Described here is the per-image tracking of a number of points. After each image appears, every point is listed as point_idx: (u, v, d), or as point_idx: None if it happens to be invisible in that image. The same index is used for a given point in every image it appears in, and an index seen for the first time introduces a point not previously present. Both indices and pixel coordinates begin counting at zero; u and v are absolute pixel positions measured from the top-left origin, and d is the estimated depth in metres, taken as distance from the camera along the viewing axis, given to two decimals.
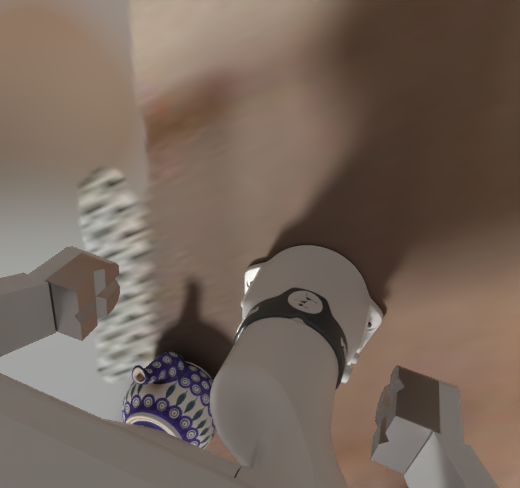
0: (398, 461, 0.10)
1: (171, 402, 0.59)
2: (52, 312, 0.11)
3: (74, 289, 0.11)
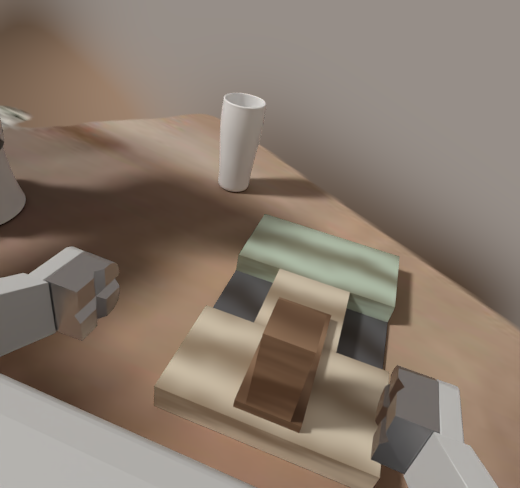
0: (398, 461, 0.10)
1: None
2: (52, 312, 0.11)
3: (74, 289, 0.11)
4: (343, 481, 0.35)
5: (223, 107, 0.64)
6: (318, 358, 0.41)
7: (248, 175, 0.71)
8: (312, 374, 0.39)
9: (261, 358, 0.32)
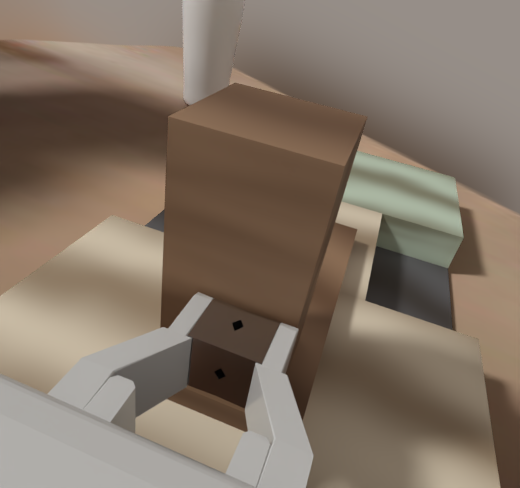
0: (237, 396, 0.10)
1: None
2: (188, 367, 0.10)
3: (219, 345, 0.10)
4: None
5: None
6: (336, 293, 0.20)
7: (224, 85, 0.50)
8: (324, 321, 0.18)
9: (176, 222, 0.11)
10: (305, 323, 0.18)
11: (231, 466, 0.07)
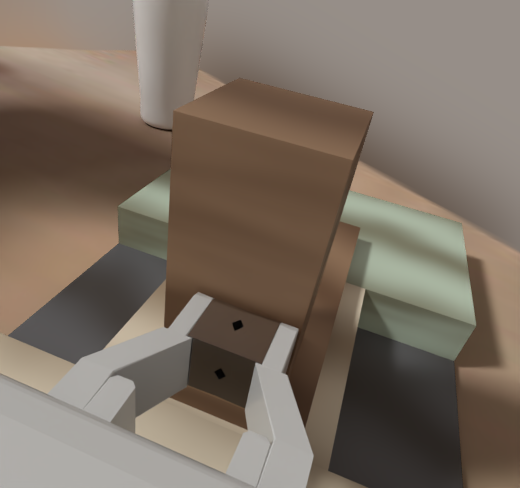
0: (237, 396, 0.10)
1: None
2: (188, 367, 0.10)
3: (219, 345, 0.10)
4: None
5: None
6: (339, 291, 0.19)
7: (187, 100, 0.42)
8: (328, 319, 0.18)
9: (180, 219, 0.11)
10: (309, 321, 0.17)
11: (231, 466, 0.07)
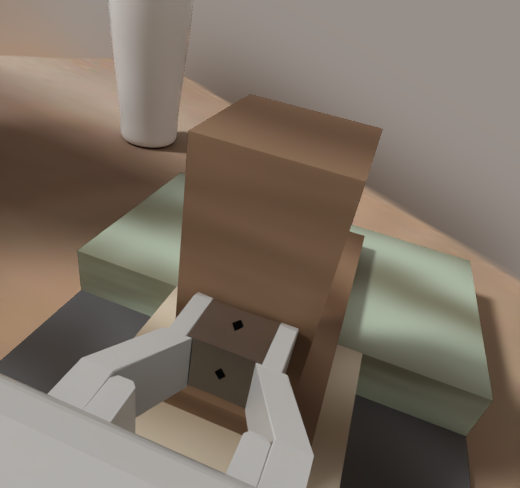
0: (237, 396, 0.10)
1: None
2: (188, 367, 0.10)
3: (219, 345, 0.10)
4: None
5: None
6: (345, 300, 0.20)
7: (171, 116, 0.39)
8: (334, 329, 0.18)
9: (193, 234, 0.11)
10: (315, 331, 0.18)
11: (231, 466, 0.07)
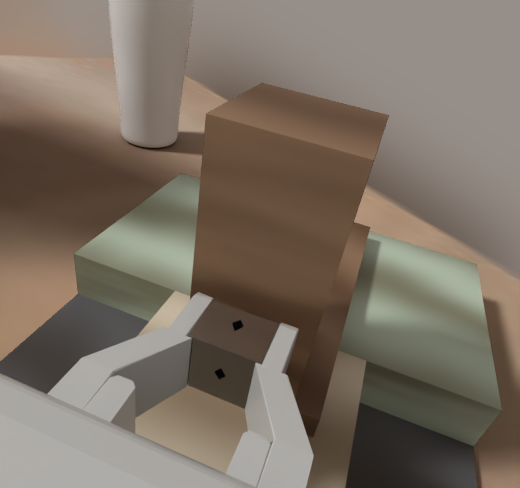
0: (237, 396, 0.10)
1: None
2: (188, 367, 0.10)
3: (219, 345, 0.10)
4: None
5: None
6: (351, 288, 0.20)
7: (171, 116, 0.38)
8: (340, 314, 0.18)
9: (209, 214, 0.11)
10: (322, 316, 0.18)
11: (231, 466, 0.07)
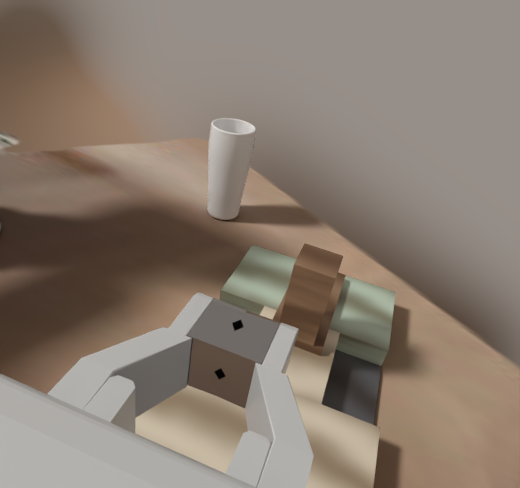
0: (237, 396, 0.10)
1: None
2: (188, 367, 0.10)
3: (219, 345, 0.10)
4: None
5: (211, 133, 0.62)
6: (335, 304, 0.49)
7: (238, 203, 0.68)
8: (330, 315, 0.48)
9: (291, 287, 0.41)
10: (323, 316, 0.47)
11: (231, 466, 0.07)
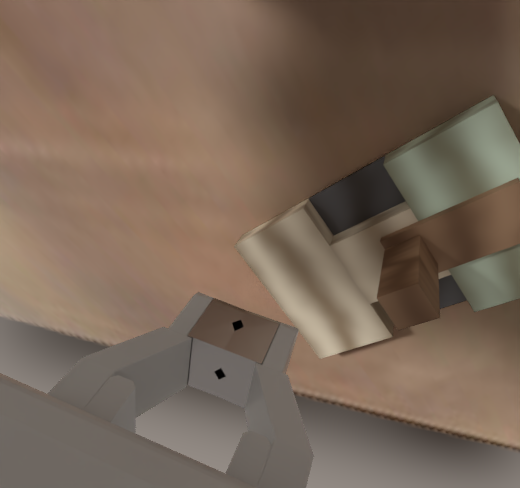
0: (237, 396, 0.10)
1: None
2: (188, 367, 0.10)
3: (219, 345, 0.10)
4: None
5: None
6: (476, 258, 0.43)
7: None
8: (455, 264, 0.44)
9: (381, 284, 0.41)
10: (446, 261, 0.44)
11: (231, 466, 0.07)
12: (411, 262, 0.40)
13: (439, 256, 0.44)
